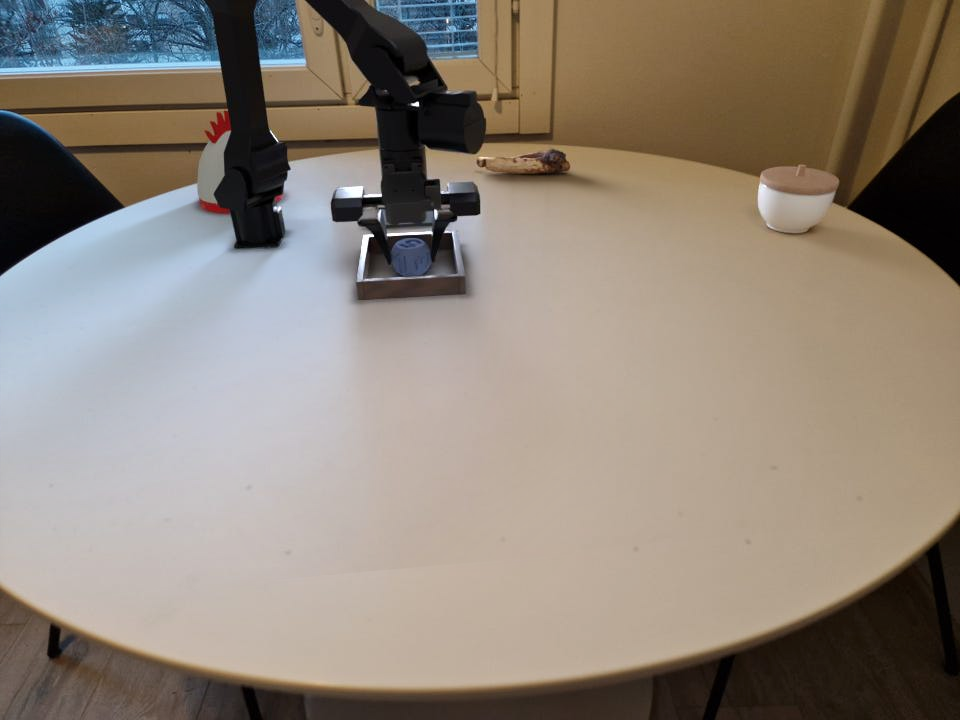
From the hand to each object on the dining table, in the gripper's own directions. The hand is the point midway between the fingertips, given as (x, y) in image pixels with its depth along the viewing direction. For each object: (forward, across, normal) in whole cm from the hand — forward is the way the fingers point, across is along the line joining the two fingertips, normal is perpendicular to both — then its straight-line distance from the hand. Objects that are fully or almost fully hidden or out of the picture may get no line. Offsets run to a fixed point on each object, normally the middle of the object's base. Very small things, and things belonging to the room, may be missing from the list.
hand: (411, 262), depth 88 cm
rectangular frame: (+1, 0, 0) cm, 1 cm away
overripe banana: (+1, +22, +44) cm, 49 cm away
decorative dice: (+1, 0, 0) cm, 1 cm away
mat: (+1, -1, +23) cm, 23 cm away
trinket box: (+1, +58, +9) cm, 59 cm away
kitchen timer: (+1, -30, +34) cm, 45 cm away
